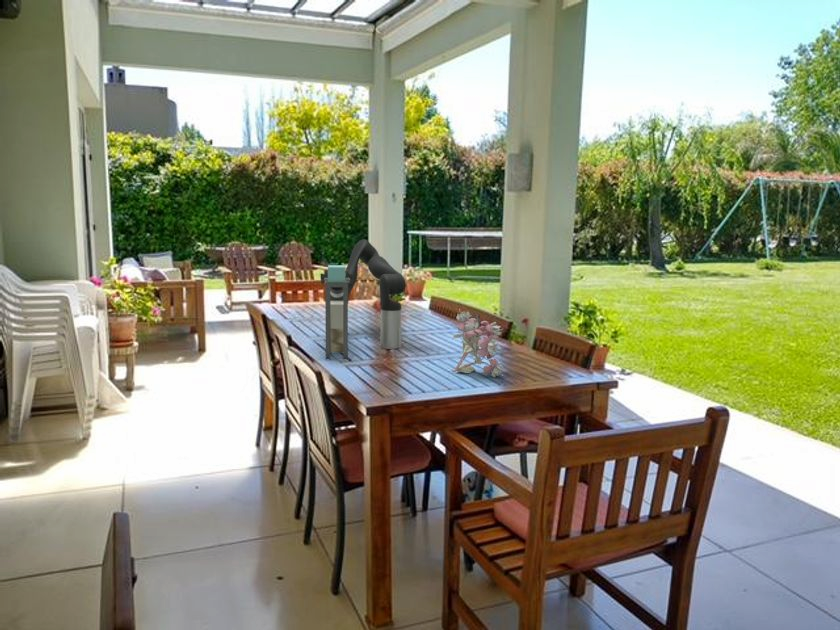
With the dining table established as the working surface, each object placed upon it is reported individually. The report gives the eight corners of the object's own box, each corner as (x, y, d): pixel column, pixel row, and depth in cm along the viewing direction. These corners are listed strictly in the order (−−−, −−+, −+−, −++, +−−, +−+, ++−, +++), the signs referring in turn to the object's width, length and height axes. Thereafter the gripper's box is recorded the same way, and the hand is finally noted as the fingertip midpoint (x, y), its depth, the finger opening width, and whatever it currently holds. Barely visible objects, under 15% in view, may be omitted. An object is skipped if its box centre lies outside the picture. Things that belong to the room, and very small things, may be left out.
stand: (347, 353, 280) (347, 279, 275) (347, 359, 269) (347, 282, 264) (326, 353, 279) (326, 279, 274) (325, 359, 268) (325, 282, 263)
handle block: (345, 277, 285) (345, 263, 284) (345, 282, 265) (345, 267, 264) (328, 276, 284) (328, 263, 283) (327, 282, 264) (327, 267, 263)
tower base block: (346, 346, 294) (346, 323, 293) (346, 352, 282) (346, 328, 281) (328, 346, 293) (328, 323, 292) (327, 352, 281) (327, 328, 280)
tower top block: (346, 323, 293) (346, 300, 291) (346, 328, 281) (346, 304, 279) (328, 323, 292) (328, 300, 290) (327, 328, 280) (327, 304, 278)
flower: (455, 380, 232) (487, 318, 230) (429, 360, 252) (459, 303, 250) (497, 398, 241) (528, 338, 240) (469, 378, 261) (497, 322, 260)
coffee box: (465, 348, 294) (466, 313, 292) (479, 349, 293) (480, 314, 290) (462, 353, 285) (463, 316, 283) (476, 353, 284) (477, 317, 281)
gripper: (321, 279, 295) (320, 263, 280) (352, 279, 297) (353, 263, 282) (321, 294, 293) (320, 279, 278) (353, 294, 294) (353, 279, 279)
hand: (336, 271), depth 280 cm, fingers open, 8 cm apart
